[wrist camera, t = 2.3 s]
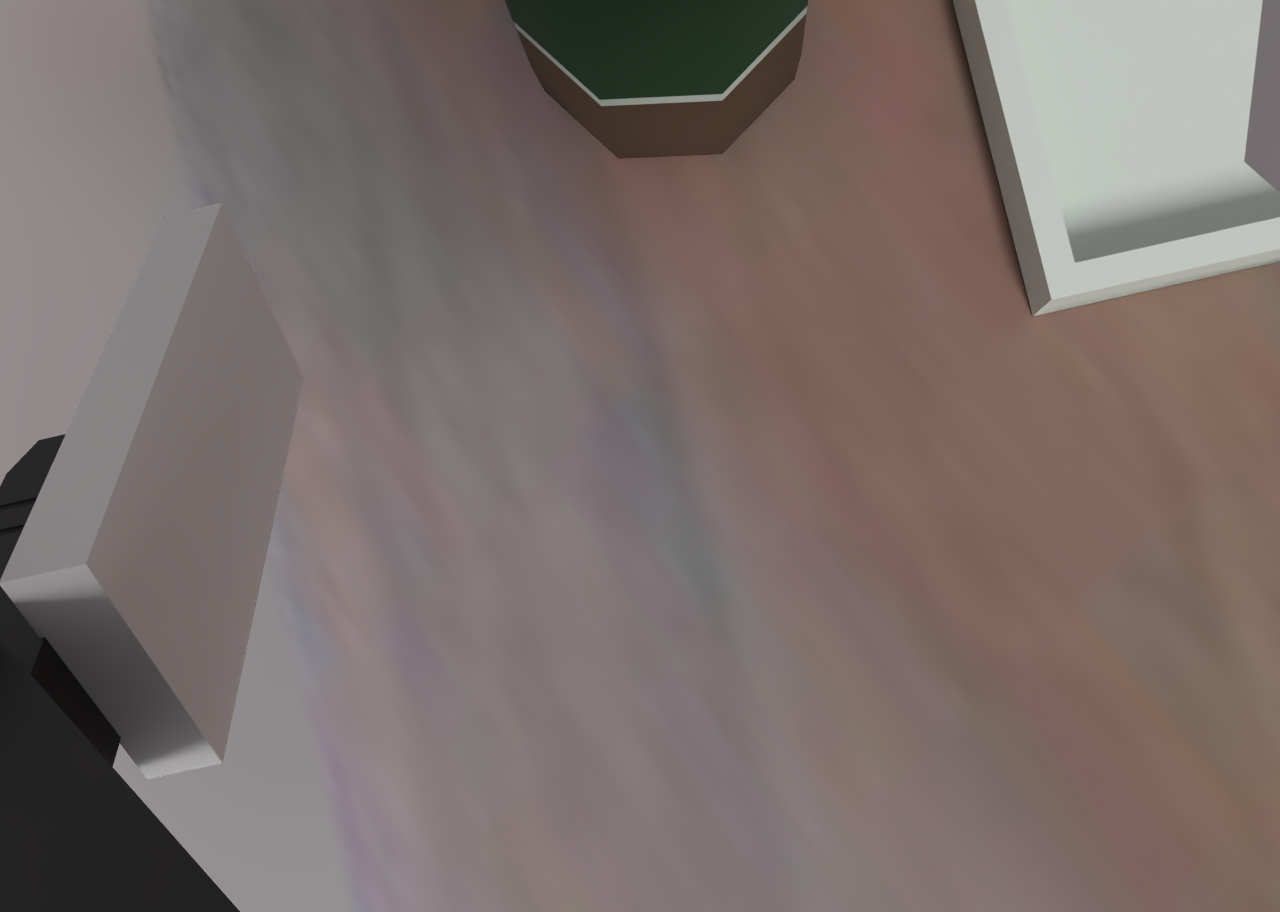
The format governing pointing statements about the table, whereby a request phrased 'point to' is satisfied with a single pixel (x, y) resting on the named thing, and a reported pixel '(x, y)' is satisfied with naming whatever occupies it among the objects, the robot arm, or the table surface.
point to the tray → (1121, 141)
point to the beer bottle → (662, 67)
